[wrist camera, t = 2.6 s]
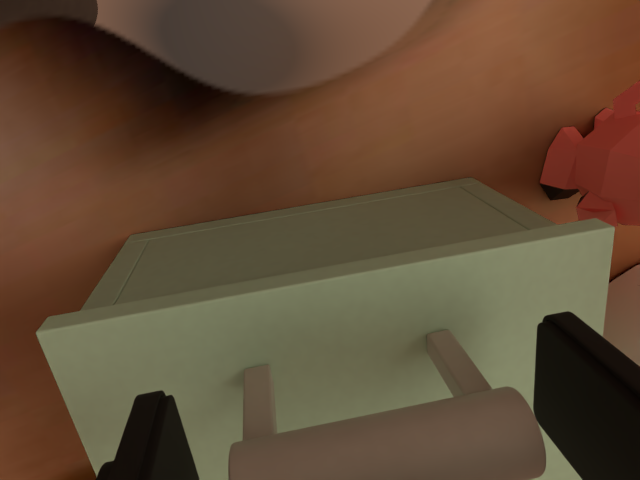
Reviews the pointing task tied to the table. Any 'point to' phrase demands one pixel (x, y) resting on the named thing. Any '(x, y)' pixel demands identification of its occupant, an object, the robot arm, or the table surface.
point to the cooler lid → (346, 362)
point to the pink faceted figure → (600, 164)
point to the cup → (624, 314)
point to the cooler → (307, 239)
